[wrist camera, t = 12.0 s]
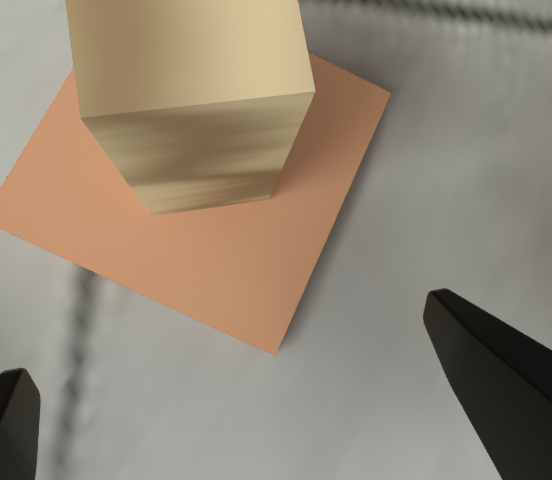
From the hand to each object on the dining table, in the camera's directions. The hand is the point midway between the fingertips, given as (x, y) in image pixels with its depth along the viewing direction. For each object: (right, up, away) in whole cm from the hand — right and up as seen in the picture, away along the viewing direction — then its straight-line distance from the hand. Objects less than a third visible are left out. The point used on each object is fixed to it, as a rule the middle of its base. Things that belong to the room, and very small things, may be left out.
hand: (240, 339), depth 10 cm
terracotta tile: (-3, +6, +11) cm, 13 cm away
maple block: (-2, +6, +10) cm, 12 cm away
